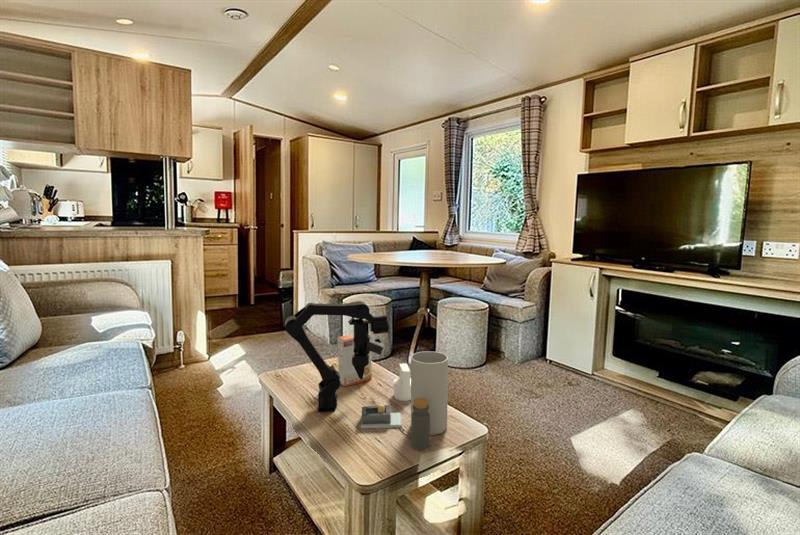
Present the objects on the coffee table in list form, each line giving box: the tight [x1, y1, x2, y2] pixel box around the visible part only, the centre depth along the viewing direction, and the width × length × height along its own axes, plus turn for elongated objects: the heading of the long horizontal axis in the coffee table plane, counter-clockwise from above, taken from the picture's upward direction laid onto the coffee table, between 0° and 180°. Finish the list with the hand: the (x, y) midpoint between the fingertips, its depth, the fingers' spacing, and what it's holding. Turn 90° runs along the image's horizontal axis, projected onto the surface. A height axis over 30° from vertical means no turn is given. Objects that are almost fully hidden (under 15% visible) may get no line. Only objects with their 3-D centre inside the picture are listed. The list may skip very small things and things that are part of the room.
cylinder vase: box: [410, 350, 449, 436], centre depth 146 cm, size 12×12×25 cm
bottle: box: [410, 398, 431, 451], centre depth 135 cm, size 6×6×15 cm
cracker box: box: [336, 333, 373, 388], centre depth 187 cm, size 14×6×21 cm, turn 127°
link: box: [361, 404, 391, 424], centre depth 151 cm, size 10×7×3 cm
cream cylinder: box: [393, 362, 411, 402], centre depth 173 cm, size 9×9×12 cm
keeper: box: [360, 403, 402, 429], centre depth 151 cm, size 14×9×6 cm, turn 92°
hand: (361, 374), depth 164 cm, fingers open, 9 cm apart
